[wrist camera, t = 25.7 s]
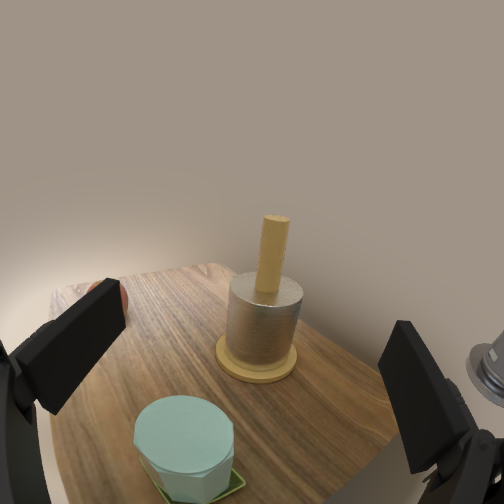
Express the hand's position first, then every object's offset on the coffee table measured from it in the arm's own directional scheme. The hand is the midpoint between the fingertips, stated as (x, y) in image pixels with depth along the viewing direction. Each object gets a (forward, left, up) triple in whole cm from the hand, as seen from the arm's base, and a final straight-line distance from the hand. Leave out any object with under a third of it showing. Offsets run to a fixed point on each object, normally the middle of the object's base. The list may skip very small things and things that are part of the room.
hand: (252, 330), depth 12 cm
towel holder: (+26, -5, -25) cm, 36 cm away
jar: (+2, +4, -22) cm, 23 cm away
